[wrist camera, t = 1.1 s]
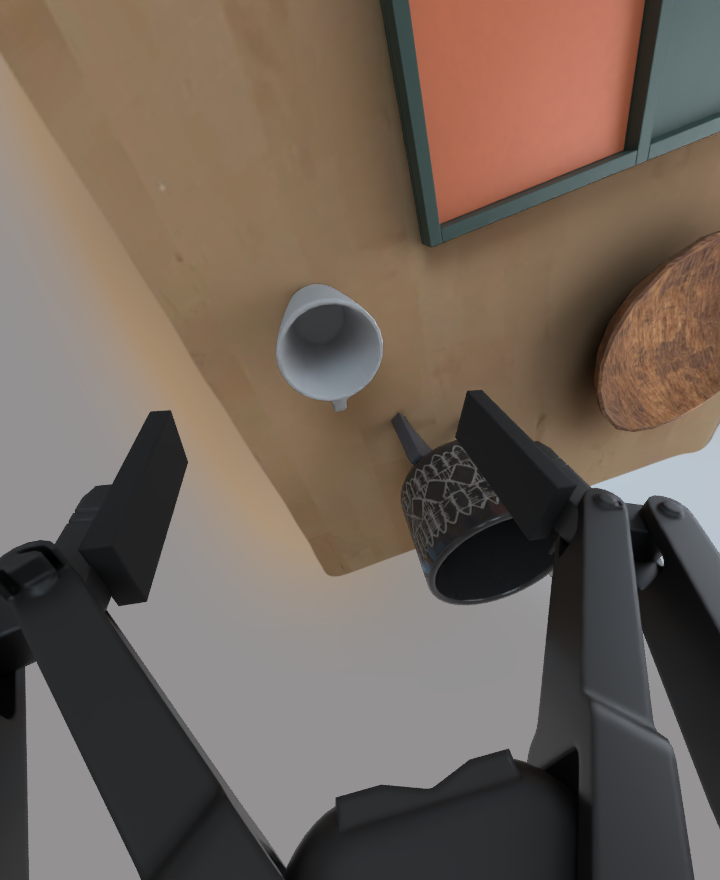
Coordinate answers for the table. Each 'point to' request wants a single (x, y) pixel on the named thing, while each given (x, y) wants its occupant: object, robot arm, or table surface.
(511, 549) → the planter
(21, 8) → the table surface
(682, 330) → the bowl
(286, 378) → the cup
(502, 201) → the tray
